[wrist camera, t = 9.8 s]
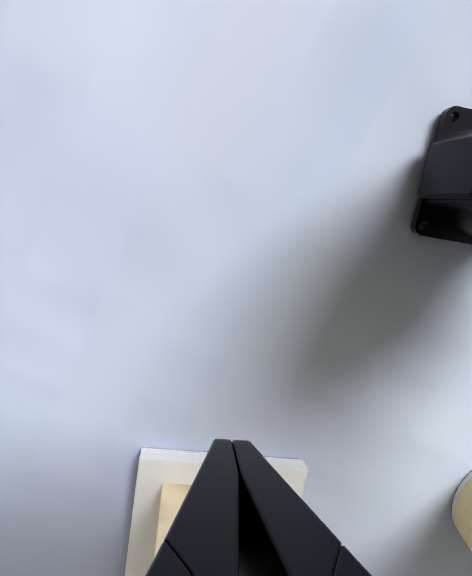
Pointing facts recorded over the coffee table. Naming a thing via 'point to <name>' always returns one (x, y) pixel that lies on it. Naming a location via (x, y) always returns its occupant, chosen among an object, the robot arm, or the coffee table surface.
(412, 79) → the coffee table surface
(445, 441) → the coffee table surface
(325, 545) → the robot arm
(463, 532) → the coffee cup
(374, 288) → the coffee table surface
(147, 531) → the baseplate
